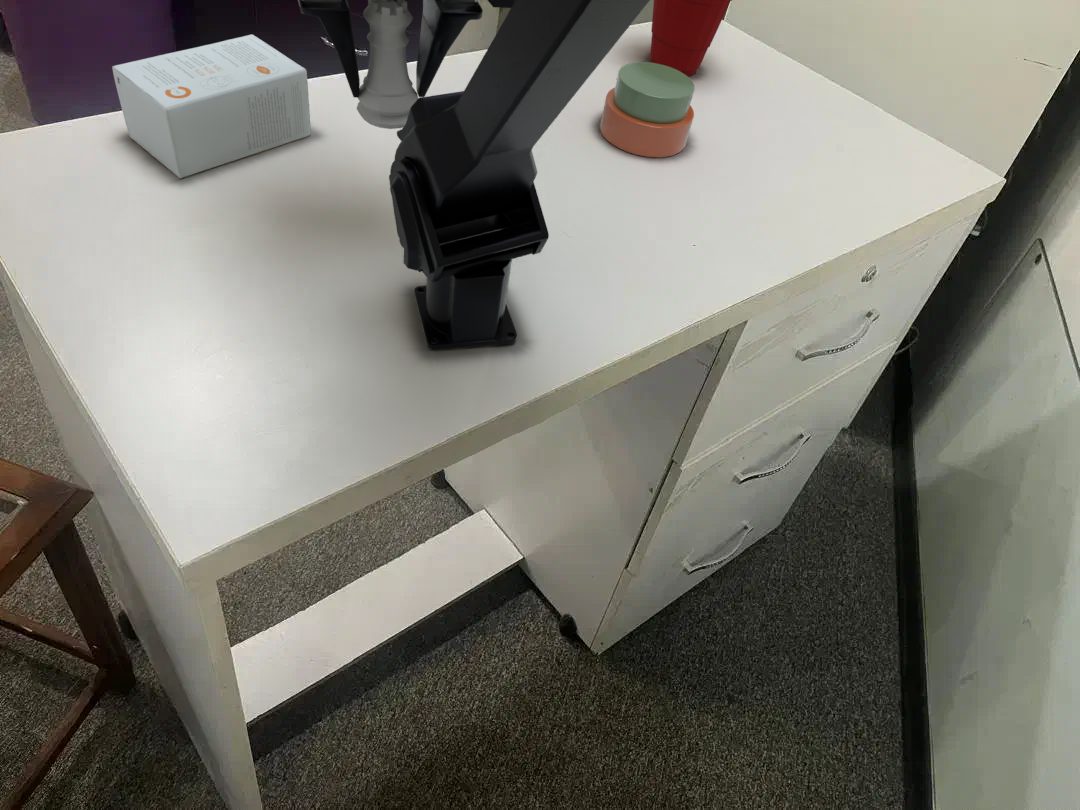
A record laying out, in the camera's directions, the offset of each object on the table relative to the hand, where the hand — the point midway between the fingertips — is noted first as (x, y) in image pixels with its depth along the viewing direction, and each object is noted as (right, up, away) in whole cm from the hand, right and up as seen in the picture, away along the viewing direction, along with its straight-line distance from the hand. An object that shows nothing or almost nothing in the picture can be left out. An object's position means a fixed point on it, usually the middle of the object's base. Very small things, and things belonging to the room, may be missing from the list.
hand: (388, 94), depth 56 cm
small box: (-12, +7, +15) cm, 20 cm away
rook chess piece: (0, -1, +1) cm, 2 cm away
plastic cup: (+27, +18, +37) cm, 50 cm away
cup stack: (+21, +6, +24) cm, 33 cm away
